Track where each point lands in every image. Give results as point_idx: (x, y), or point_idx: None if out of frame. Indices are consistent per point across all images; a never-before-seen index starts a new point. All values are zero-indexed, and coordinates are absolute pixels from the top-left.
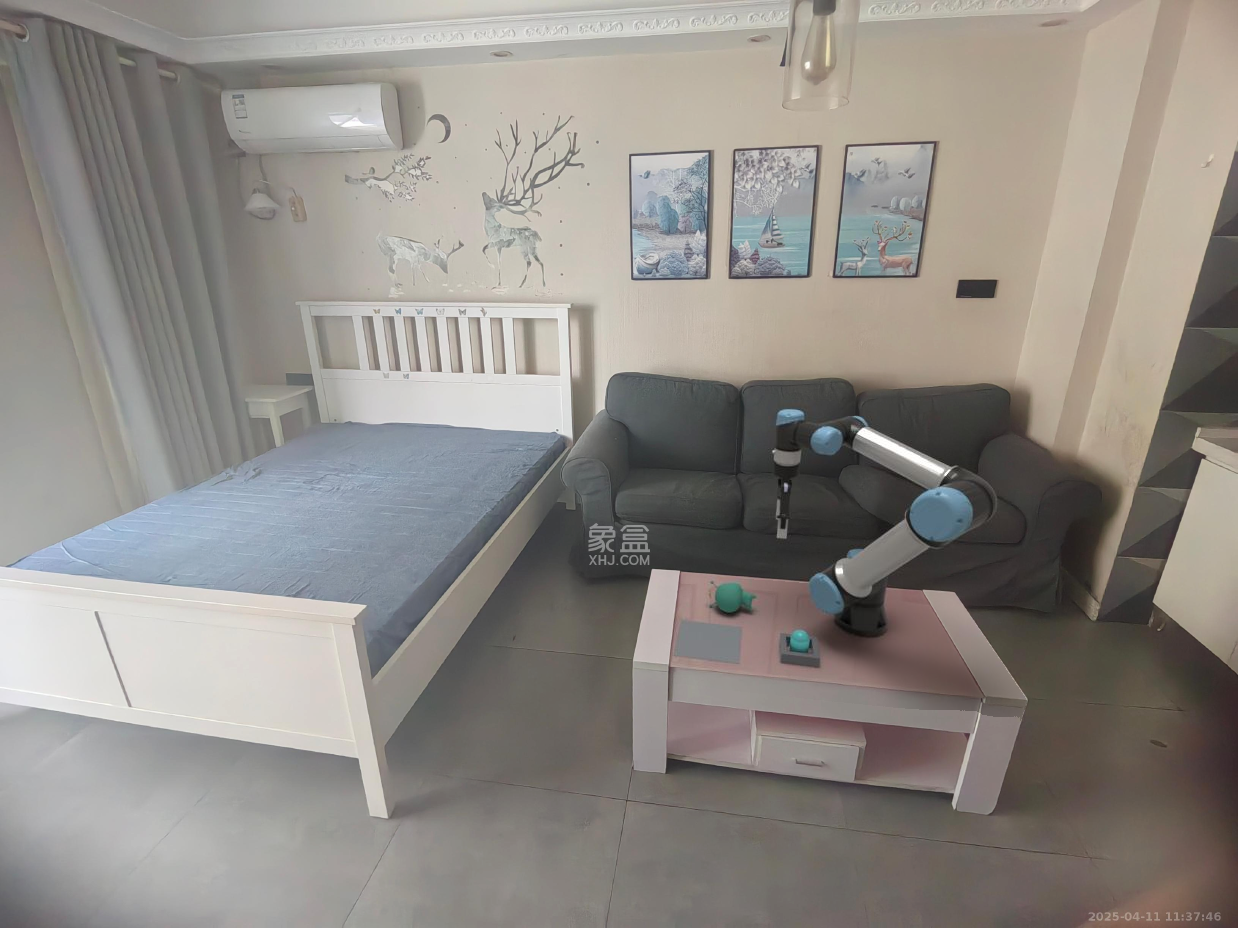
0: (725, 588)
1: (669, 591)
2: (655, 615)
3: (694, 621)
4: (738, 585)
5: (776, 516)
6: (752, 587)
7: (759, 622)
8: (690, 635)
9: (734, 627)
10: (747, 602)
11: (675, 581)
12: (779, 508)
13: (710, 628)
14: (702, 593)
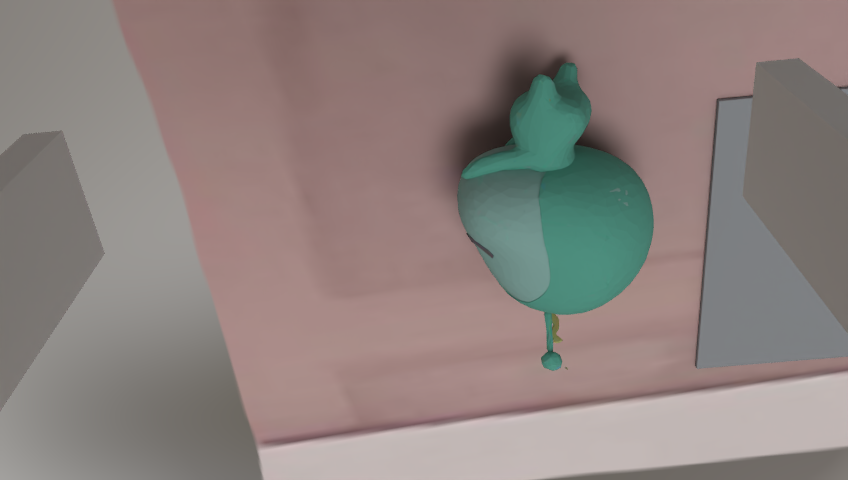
0: (617, 284)
1: (447, 452)
2: (668, 459)
3: (702, 316)
4: (557, 218)
5: (86, 275)
6: (249, 89)
7: (647, 5)
8: (824, 311)
9: (730, 133)
10: (589, 116)
11: (344, 448)
12: (7, 331)
13: (754, 241)
14: (417, 325)
